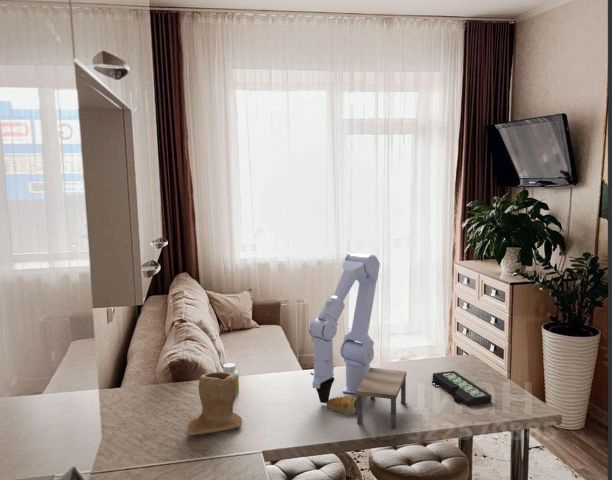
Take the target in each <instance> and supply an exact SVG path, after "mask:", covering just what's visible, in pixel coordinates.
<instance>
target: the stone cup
mask: <svg viewBox="0 0 612 480" xmlns="http://www.w3.org/2000/svg"><path fill="white" fill-rule="evenodd" d="M198 393H199V398H200V399H199V400H200V403H201V409H202V412H201V414H200V415H198V416H194V417H192V418H191V419H189V421H188V424H187V435H188V436H196V435H203V434H204V435H205V434H211V433H212V434H213V433H216V432H217V433H218V432H222V431H227V430H232V429H233V430H234V429H237V428H239V427H242V425H243V420H242V416H241V415H239V414H238V413H237V412H236V413H235V412H234V410H233V409H234V405H235V404H234V403H235V400H236V397H237V396H236V378H235V376H234V375H233V374H231V373H227V372H223V371H214V372H208V373H205V374H202V375H201V376H200V378H199V382H198Z"/></svg>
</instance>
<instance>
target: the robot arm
mask: <svg viewBox="0 0 612 480" xmlns="http://www.w3.org/2000/svg"><path fill="white" fill-rule="evenodd" d="M380 267H381V263H380V260H379V259H378V257H377V256H376V255H374V254H366V253H357V252H349V253H348V254H346V255H345V258H344V261H343V263H342V269H343V272H342V274H341V276H340V279H339V281H338V284H337V286H336V289H335V290H334V294H333V295H331V296H329V297H327V298H326V301H325V302H324V304H323V307H322V308H321V310H320V313H319V314H318V317H317V318H315V319H313V320H312V321H311V323H310V325H309V328H308V333H309V335H310V337H311V342H312V344H313V346H312V347H313V370H311V371H310V372H309V373H310V375H311V376H313V380H312V388H313V389H315V390H316V392H317V395H318V398H319V399H318V400H319V401H320V402H319V403H321V404H322V403H323V404H326V402H327V401H328V400H330V394H331V391H332V390H331V389H332V387H333V384H334V382H335V377H334V375H335V373H334V372H335V366H334V362H333V361H334V357H333V355H334V354H333V353H334V352H333V350H334V349H333V345H334V344H333V339H334V338H335V337H336V334H337V331H338V328H337V327H338V325H339V323H338V321H339V319H340V316H341V315H342V313H343V310H344V309H345V302H344V301H345V299H346V297H347V296H348V294H349V292H350V290H352V287H353V286H354V284H355V282H356V281H357V282H358V290H357V296H356V302H355V308H354V313H353V319H352V324H351V330H350V332H348V333H346V334H345V335H344V338H343V342H342V344H341V345H340V350H339V353H340V356H341V358H343V362H344V363H345V380H346V381H345V382H346V383H345V384H346V385H345V386H344V388H343V389H342V393H346V394H355V395H356V390H357V388H358V387H359V385H360V384H361V382H362V380H363V379H364V377H365V376H366V374H367V372H368V371H369V369H370V368H371V365H370V364H371V363H372V361H373V359H374V356H375V351H374V343H375V342H374V340H373V339H372V338H371V336H370V335H369V329H370V323H371V317H372V311H373V306H374V300H375V299H374V298H375V293H376V288H377V287H376V286H377V281H378V279H379V272H380Z"/></svg>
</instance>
